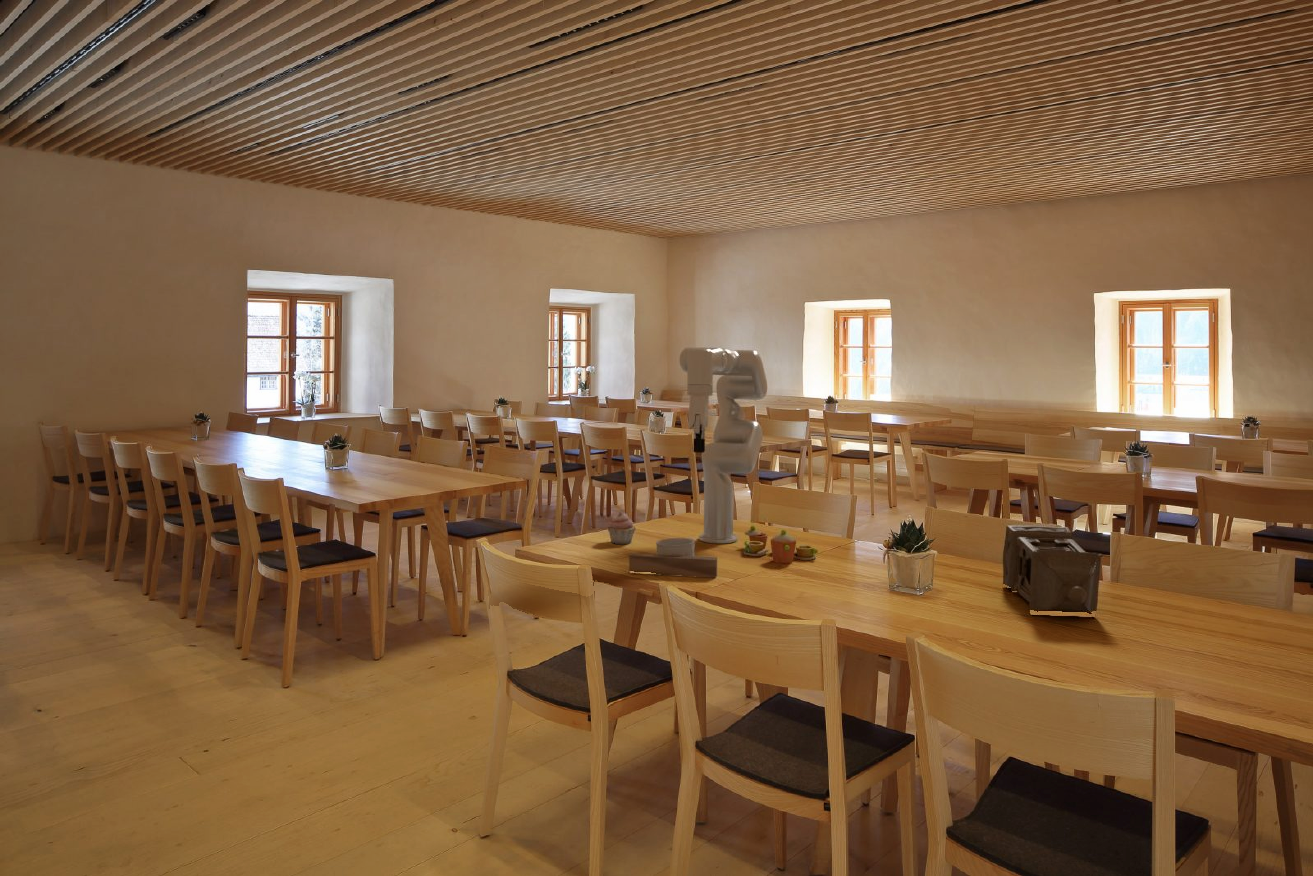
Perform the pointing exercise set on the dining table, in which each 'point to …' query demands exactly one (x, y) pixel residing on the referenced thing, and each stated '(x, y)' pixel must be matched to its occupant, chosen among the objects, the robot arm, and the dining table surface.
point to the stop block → (674, 565)
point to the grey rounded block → (676, 546)
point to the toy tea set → (778, 547)
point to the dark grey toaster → (1050, 569)
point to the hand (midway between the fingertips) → (699, 452)
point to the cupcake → (621, 529)
